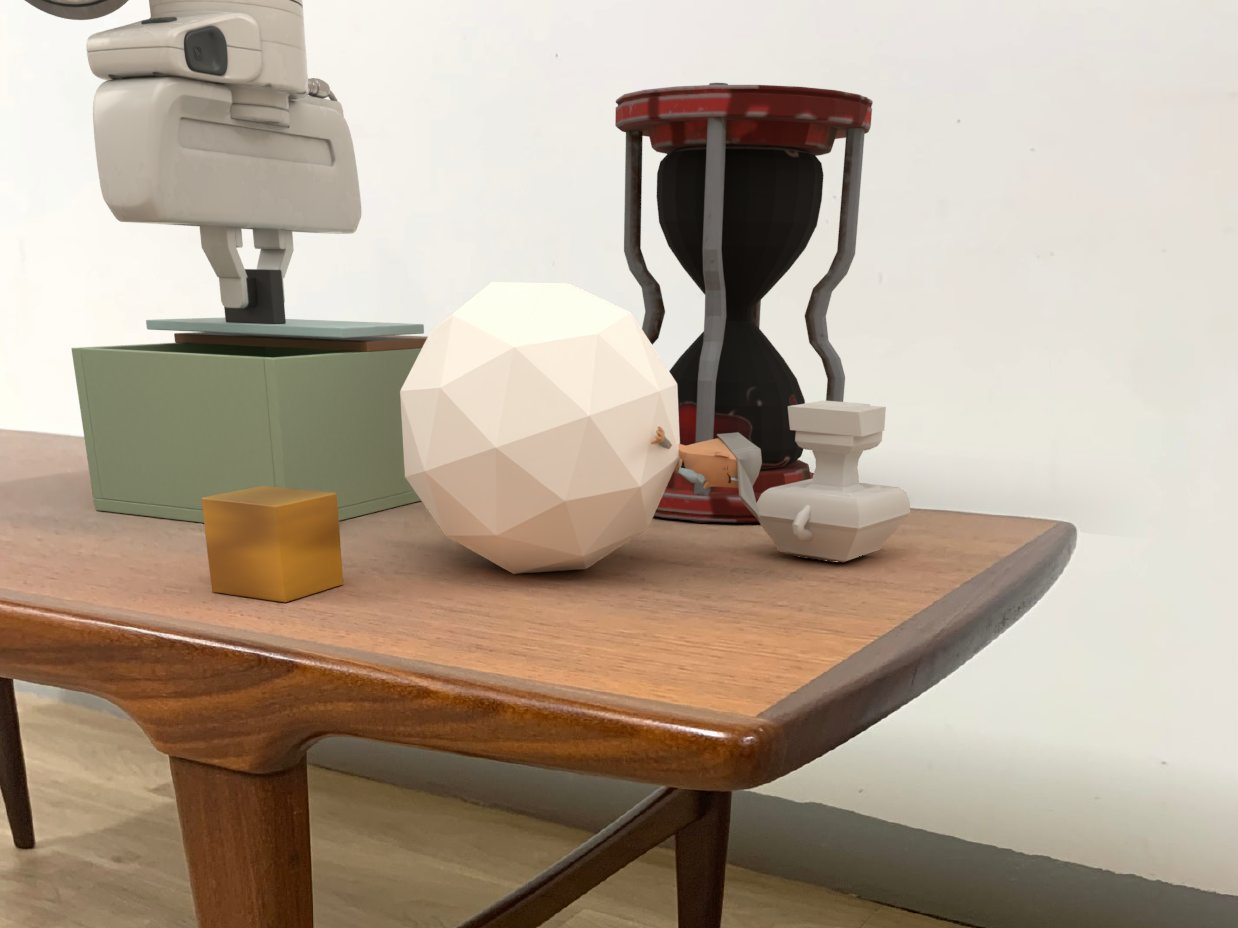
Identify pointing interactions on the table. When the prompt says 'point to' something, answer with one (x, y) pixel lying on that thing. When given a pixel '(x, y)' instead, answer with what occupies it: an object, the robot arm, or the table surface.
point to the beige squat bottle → (833, 487)
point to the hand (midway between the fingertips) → (253, 307)
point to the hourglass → (740, 256)
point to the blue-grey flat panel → (279, 318)
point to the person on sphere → (550, 429)
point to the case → (245, 420)
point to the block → (273, 542)
